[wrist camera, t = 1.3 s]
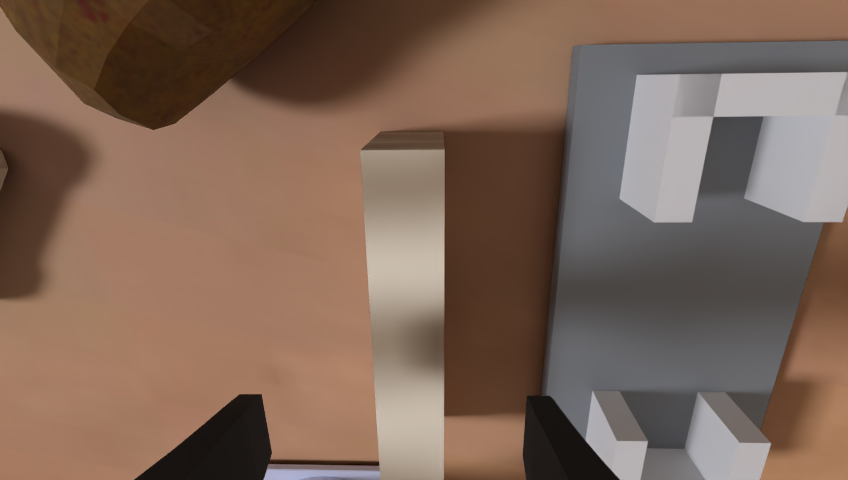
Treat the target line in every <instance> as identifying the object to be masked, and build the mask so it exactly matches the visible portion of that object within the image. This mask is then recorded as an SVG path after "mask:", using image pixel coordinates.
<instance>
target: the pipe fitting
mask: <svg viewBox="0 0 848 480" xmlns="http://www.w3.org/2000/svg"><path fill="white" fill-rule="evenodd" d="M7 171H8V167H7V163H6V160H5V158H4V155H3V153H2V151H1V150H0V191H1V188H2V185H3V182H4V179H5V177H6V174H7Z"/></svg>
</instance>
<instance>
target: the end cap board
mask: <svg viewBox="0 0 848 480" xmlns="http://www.w3.org/2000/svg"><path fill="white" fill-rule="evenodd" d="M847 206H848V41H793V42H731V43H669V44H607V45H578V46H574V47H573V52H572V62H571V73H570V84H569V95H568V106H567V116H566V127H565V138H564V149H563V160H562V170H561V181H560V192H559V203H558V214H557V224H556V235H555V246H554V257H553V268H552V278H551V289H550V300H549V311H548V321H547V332H546V343H545V354H544V365H543V375H542V386H541V396H551V397H552V398H553V399H554V400H555V402H556V403H557V405H558V406H559V407H560V409H561V410H562V411H563V413H564V414H565V415H566V417H567V418H568V419H569V420H570V422H571V423H572V424H573V426H574V427H575V428H576V429H577V431H578V432H579V433H580V434H581V436H582V437H583V438H584V439H585V441H586V442H587V443H588V444H589V445H590V446H591V448H592V449H593V450H594V451H595V452H596V453H597V455H598V456H599V457H600V458H601V459H602V460H603V462H604V463H605V464H606V465H607V466H608V467H609V468H610V469H611V470H612V472H613V473H614V474H615V475H616V476H617V477H618V478H619V479H620V480H760V477H761V474H762V471H763V468H764V464H765V461H766V458H767V455H768V452H769V449H770V446H771V442H770V441H769V440H768V439H767V438H766V437H765V436H764V435H763V434H762V432H761V431H760V430H761V426H762V423H763V420H764V417H765V413H766V410H767V407H768V403H769V400H770V397H771V394H772V390H773V387H774V384H775V381H776V377H777V374H778V371H779V368H780V364H781V361H782V358H783V355H784V351H785V348H786V345H787V341H788V338H789V335H790V332H791V328H792V325H793V322H794V319H795V315H796V312H797V309H798V306H799V302H800V299H801V296H802V293H803V289H804V286H805V283H806V280H807V276H808V273H809V270H810V266H811V263H812V260H813V257H814V253H815V250H816V247H817V244H818V240H819V237H820V234H821V231H822V227H823V224H824V222H843V218H844V215H845V212H846V209H847Z"/></svg>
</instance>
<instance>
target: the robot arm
mask: <svg viewBox="0 0 848 480" xmlns="http://www.w3.org/2000/svg"><path fill="white" fill-rule="evenodd" d="M271 454H272V451H271V445H270V439H269V434H268V428H267V423H266V417H265V411H264V406H263V400H262V394H240V395H238V396H237V397H236V398H234V399H233V400H232V401H231V402H230V403H228V404H227V405H226V406H225V407H224V408H222V409H221V410H220V411H219V412H218V413H217V414H215V415H214V416H213V417H212V418H211V419H209V420H208V421H207V422H206V423H205V424H204V425H202V426H201V427H200V428H199V429H198V430H196V431H195V432H194V433H193V434H192V435H190V436H189V437H188V438H187V439H186V440H184V441H183V442H182V443H181V444H180V445H178V446H177V447H176V448H175V449H173V450H172V451H171V452H170V453H168V454H167V455H166V456H164V457H163V458H162V459H160V460H159V461H158V462H157V463H155V464H154V465H153V466H151V467H150V468H149V469H148V470H146V471H145V472H144V473H142V474H141V475H140V476H138V477H137V478H136V479H134V480H380V466H353V465H296V464H269V461H270V458H271ZM523 460H524V466H525V473H526V479H527V480H620V479H619V478H618V477H617V476H616V475H615V474H614V473H613V472H612V470H611V469H610V468H609V467H608V466H607V465H606V464H605V463H604V462H603V460H602V459H601V458H600V457H599V456H598V455H597V453H596V452H595V451H594V450H593V449H592V448H591V446H590V445H589V444H588V443H587V442H586V441H585V439H584V438H583V437H582V436H581V434H580V433H579V432H578V431H577V429H576V428H575V427H574V426H573V424H572V423H571V422H570V420H569V419H568V418H567V417H566V415H565V414H564V413H563V411H562V410H561V409H560V407H559V406H558V405H557V403H556V402H555V400H554V399H553V398H552V397H551V396H527V402H526V416H525V431H524V445H523Z"/></svg>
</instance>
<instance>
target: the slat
mask: <svg viewBox="0 0 848 480" xmlns="http://www.w3.org/2000/svg"><path fill="white" fill-rule="evenodd" d="M360 153H361V170H362V186H363V203H364V219H365V236H366V252H367V269H368V285H369V301H370V318H371V334H372V351H373V367H374V384H375V400H376V417H377V433H378V449H379V466H380V480H444V228H445V147H444V133H443V131H417V132H380V133H379V134H378V135H376V136H375V137H374V138H373V139H372V140H371V141H370V142H369V143H368V144H367V145H366V146H364V147H363V148H362V149H361V150H360Z"/></svg>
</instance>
